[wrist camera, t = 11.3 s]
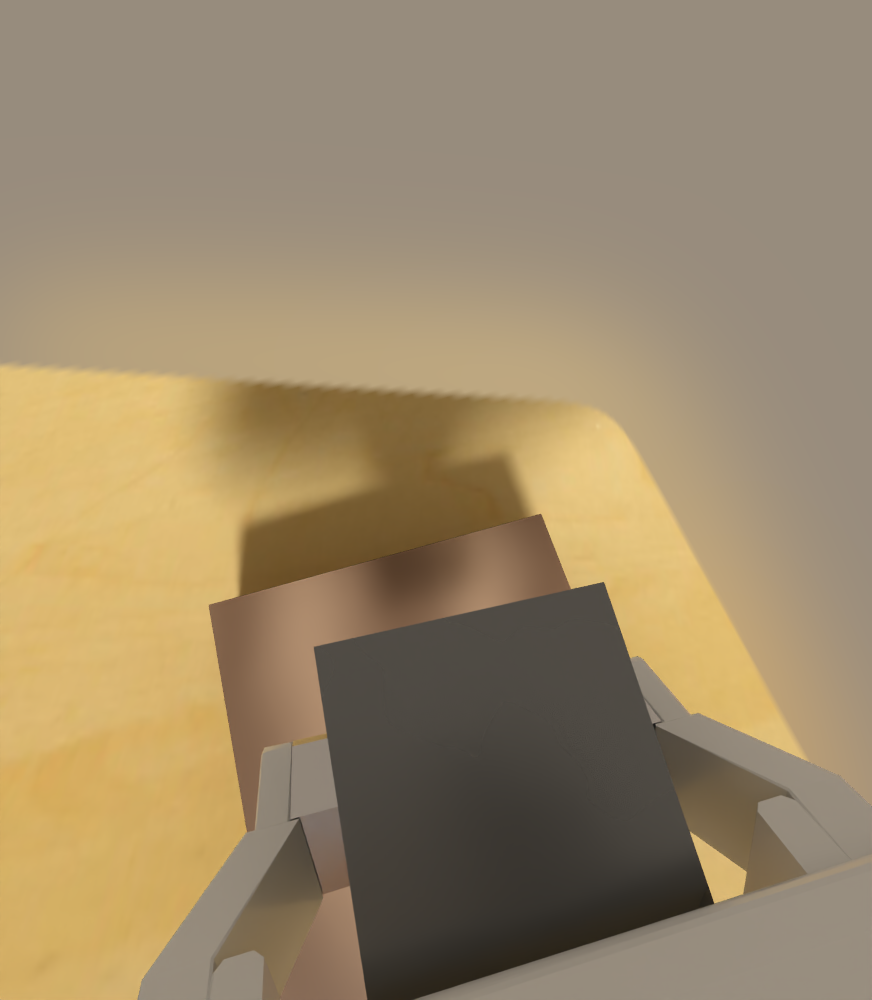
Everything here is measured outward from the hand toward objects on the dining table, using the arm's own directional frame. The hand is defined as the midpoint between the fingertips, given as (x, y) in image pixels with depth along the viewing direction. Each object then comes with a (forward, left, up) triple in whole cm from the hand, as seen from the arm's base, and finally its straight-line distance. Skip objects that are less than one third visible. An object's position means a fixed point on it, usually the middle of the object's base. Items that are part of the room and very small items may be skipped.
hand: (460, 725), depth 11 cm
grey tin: (0, -1, -4) cm, 4 cm away
